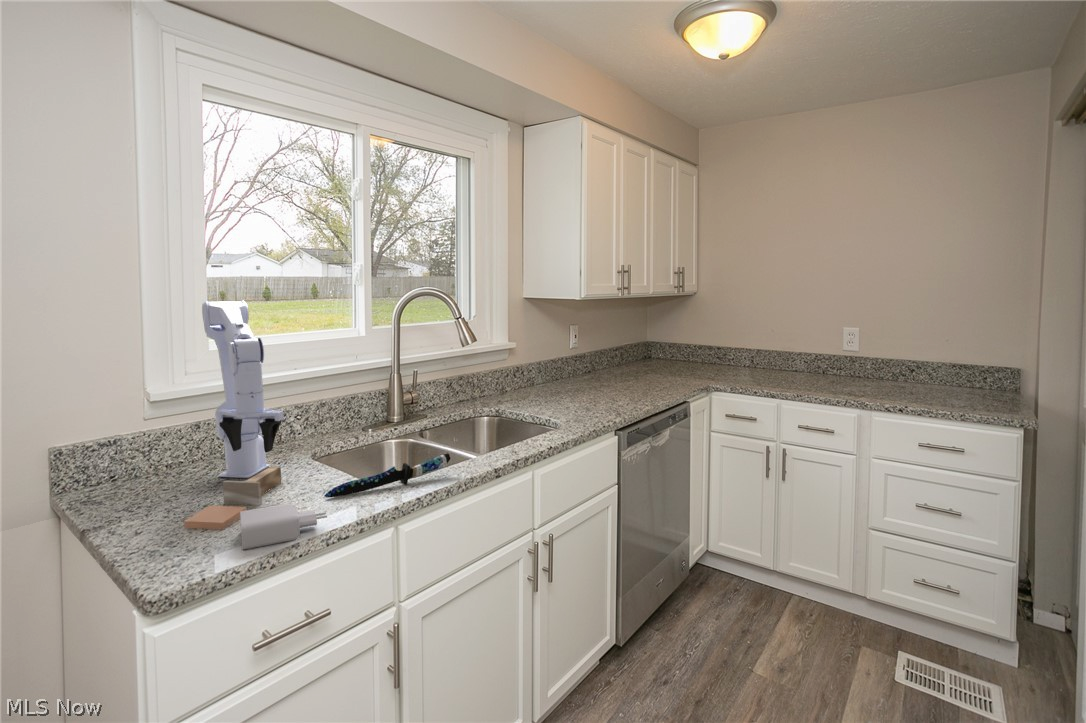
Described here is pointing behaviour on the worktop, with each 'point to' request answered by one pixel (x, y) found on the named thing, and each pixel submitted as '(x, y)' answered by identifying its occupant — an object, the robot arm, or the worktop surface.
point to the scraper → (251, 487)
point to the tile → (214, 517)
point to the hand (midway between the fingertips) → (252, 450)
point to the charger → (274, 524)
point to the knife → (389, 477)
